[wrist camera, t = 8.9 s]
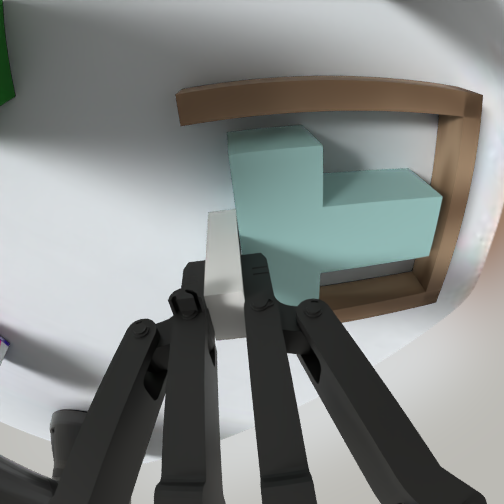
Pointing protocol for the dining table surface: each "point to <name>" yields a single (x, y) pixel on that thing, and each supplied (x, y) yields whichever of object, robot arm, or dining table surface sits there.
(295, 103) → the wooden u-shaped frame
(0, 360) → the supplement box
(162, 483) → the robot arm
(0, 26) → the milk carton
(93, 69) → the dining table surface
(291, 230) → the tee
